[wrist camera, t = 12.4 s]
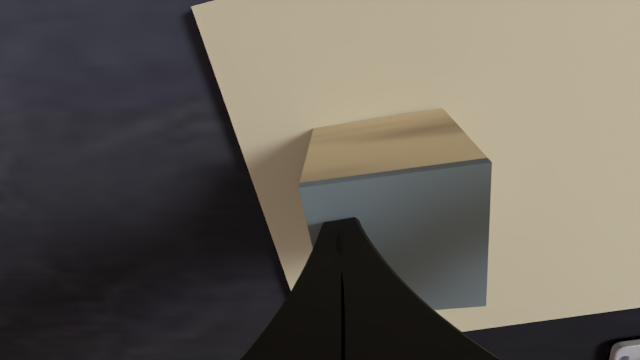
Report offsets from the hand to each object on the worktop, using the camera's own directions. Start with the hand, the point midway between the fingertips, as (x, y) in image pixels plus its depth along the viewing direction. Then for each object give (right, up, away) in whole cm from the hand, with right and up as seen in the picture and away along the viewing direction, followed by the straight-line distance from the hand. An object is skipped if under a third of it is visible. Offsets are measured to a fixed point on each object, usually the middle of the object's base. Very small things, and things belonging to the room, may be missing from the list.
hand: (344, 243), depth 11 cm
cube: (+2, 0, 0) cm, 2 cm away
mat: (+8, +2, +5) cm, 9 cm away
